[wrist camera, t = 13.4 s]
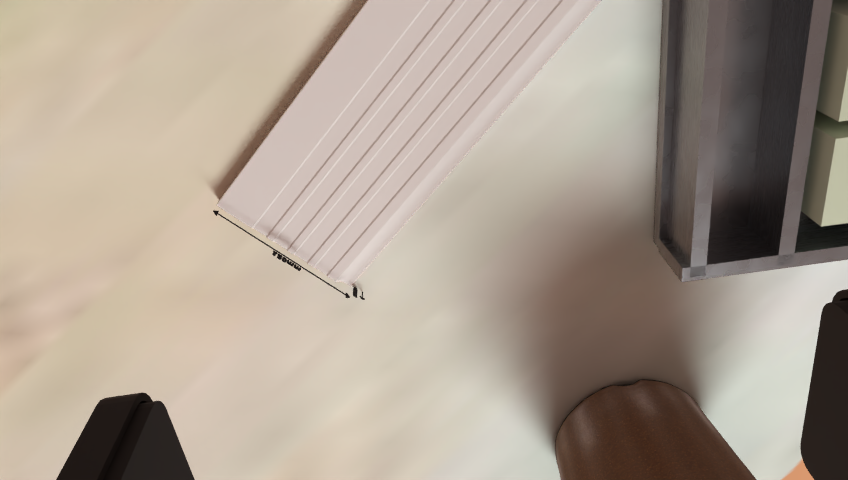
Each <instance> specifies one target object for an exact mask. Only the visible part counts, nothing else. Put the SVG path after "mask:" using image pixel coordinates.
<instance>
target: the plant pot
mask: <svg viewBox="0 0 848 480" xmlns="http://www.w3.org/2000/svg"><path fill="white" fill-rule="evenodd" d="M556 460H557V464H558V468H559V473H560V477H561V480H756V479H755V477H754V476H753V475H752V473H751V472H750V471H749V470H748V468H747V467H746V466H745V465H744V463H743V462H742V461H741V460H740V459H739V457H738V456H737V455H736V454H735V452H734V451H733V450H732V448H731V447H730V446H729V445H728V443H727V442H726V441H725V440H724V438H723V437H722V436H721V434H720V433H719V432H718V431H717V429H716V428H715V427H714V426H713V424H712V423H711V422H710V421H709V419H708V418H707V417H706V415H705V414H704V413H703V411H702V410H701V409H700V407H699V406H698V404H697V403H696V402H695V401H694V400H693V399H692V398H691V397H690V396H689V395H688V394H687V393H685V392H684V391H682V390H681V389H679V388H677V387H675V386H673V385H670V384H667V383H663V382H658V381H650V380H639V381H638V382H636V383H635V384H633V385H628V386H615V385H612V386H609V387H607V388H604V389H602V390H600V391H598V392H596V393H594V394H593V395H591V396H590V397H588V398H587V399H585V400H584V401H583V402H581V403H580V404H579V405H578V406H577V407H576V408H575V409H574V410H573V411H572V412H571V413H570V414H569V415H568V417H567V418H566V419H565V421H564V422H563V424H562V426H561V428H560V430H559V432H558V435H557V439H556Z"/></svg>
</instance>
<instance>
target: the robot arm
mask: <svg viewBox="0 0 848 480" xmlns="http://www.w3.org/2000/svg"><path fill="white" fill-rule="evenodd" d="M801 455H802V458H803V461H804V463H805V466H806V468H807V469H808V471H809V473H810V474H811V476H812V477H813V478H814V480H848V289H847V290H842V291H839V292H837V293H836V295H835V296H834V297H833V301H832V302H831V303H828V304H826V305H825V306H824V307H823V311H822V315H821V321H820V327H819V333H818V339H817V346H816V352H815V358H814V364H813V370H812V377H811V383H810V389H809V395H808V401H807V407H806V414H805V420H804V426H803V432H802V438H801ZM56 480H194V477H193V475H192V472H191V470H190V467H189V465H188V462H187V460H186V457H185V455H184V452H183V450H182V447H181V445H180V442H179V440H178V437H177V435H176V432H175V430H174V427H173V425H172V422H171V420H170V417H169V415H168V412H167V410H166V407H165V406H164V404H163V403H162V402H161V401H154V402H153V401H152V399H151V398H150V396H149V395H147V394H146V393H137V394H130V395H123V396H116V397H109V398H104V399H102V400H100V402H99V403H98V404H97V405H96V407H95V409H94V411H93V413H92V415H91V416H90V418H89V420H88V422H87V424H86V426H85V428H84V429H83V431H82V433H81V435H80V437H79V439H78V440H77V442H76V444H75V446H74V448H73V450H72V452H71V453H70V455H69V457H68V459H67V461H66V463H65V464H64V466H63V468H62V470H61V472H60V474H59V476H58V477H57V479H56Z"/></svg>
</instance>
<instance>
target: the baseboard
mask: <svg viewBox="0 0 848 480" xmlns="http://www.w3.org/2000/svg"><path fill="white" fill-rule="evenodd" d="M601 1H602V0H367V1H366V2H365V4H364V5H363V6H362V8H361V9H360V10H359V12H358V13H357V14H356V16H355V17H354V18H353V20H352V21H351V23H350V24H349V25H348V27H347V28H346V29H345V31H344V32H343V33H342V35H341V36H340V37H339V39H338V40H337V41H336V43H335V44H334V46H333V47H332V48H331V50H330V51H329V52H328V54H327V55H326V56H325V58H324V59H323V60H322V62H321V63H320V64H319V66H318V67H317V69H316V70H315V71H314V73H313V74H312V75H311V77H310V78H309V79H308V81H307V82H306V83H305V85H304V86H303V87H302V89H301V90H300V91H299V93H298V94H297V96H296V97H295V98H294V100H293V101H292V102H291V104H290V105H289V106H288V108H287V109H286V110H285V112H284V113H283V114H282V116H281V117H280V119H279V120H278V121H277V123H276V124H275V125H274V127H273V128H272V129H271V131H270V132H269V133H268V135H267V136H266V137H265V139H264V140H263V141H262V143H261V144H260V146H259V147H258V148H257V150H256V151H255V152H254V154H253V155H252V156H251V158H250V159H249V160H248V162H247V163H246V164H245V166H244V167H243V169H242V170H241V171H240V173H239V174H238V175H237V177H236V178H235V179H234V181H233V182H232V183H231V185H230V186H229V187H228V189H227V190H226V192H225V193H224V194H223V196H222V197H221V198H220V200H219V201H218V203H217V205H216V206H218V207H219V208H221V209H223V210H224V211H226V212H227V213H229V214H230V215H232V216H234V217H235V218H237V219H238V220H240V221H241V222H243V223H244V224H246V225H248V226H249V227H251V228H254V229H255V230H257V231H258V232H260V233H261V234H263V235H264V236H266V237H267V238H268V239H270V240H271V241H273V242H275V243H277V244H279V245H280V246H282V247H283V248H285V249H286V250H287V251H288V252H290V253H291V254H293V255H296V256H297V257H299V258H300V259H302V260H304V261H305V262H307V264H309V265H310V266H312V267H314V268H316V269H318V270H319V271H321V272H322V273H324V274H325V275H327V277H329V278H331V279H332V280H334V281H335V282H343V283H346V284H347V285H349V286H350V287H351V286H352V284H353V283H354V282H355V281H356V280H357V279H358V278H359V277H360V275H361V274H362V273H363V272H364V271H365V270H366V269H367V267H368V266H369V265H370V264H371V263H372V262H373V261H374V259H375V258H376V257H377V256H378V255H379V254H380V253H381V251H382V250H383V249H384V248H385V247H386V246H387V245H388V243H389V242H390V241H391V240H392V239H393V238H394V237H395V235H396V234H397V233H398V232H399V231H400V230H401V229H402V227H403V226H404V225H405V224H406V223H407V222H408V221H409V219H410V218H411V217H412V216H413V215H414V214H415V213H416V212H417V210H418V209H419V208H420V207H421V206H422V205H423V204H424V202H425V201H426V200H427V199H428V198H429V197H430V196H431V194H432V193H433V192H434V191H435V190H436V189H437V188H438V186H439V185H440V184H441V183H442V182H443V181H444V180H445V178H446V177H447V176H448V175H449V174H450V173H451V172H452V170H453V169H454V168H455V167H456V166H457V165H458V164H459V162H460V161H461V160H462V159H463V158H464V157H465V156H466V155H467V153H468V152H469V151H470V150H471V149H472V148H473V147H474V145H475V144H476V143H477V142H478V141H479V140H480V139H481V137H482V136H483V135H484V134H485V133H486V132H487V131H488V129H489V128H490V127H491V126H492V125H493V124H494V123H495V121H496V120H497V119H498V118H499V117H500V116H501V115H502V113H503V112H504V111H505V110H506V109H507V108H508V107H509V105H510V104H511V103H512V102H513V101H514V100H515V99H516V97H517V96H518V95H519V94H520V93H521V92H522V91H523V90H524V88H525V87H526V86H527V85H528V84H529V83H530V82H531V80H532V79H533V78H534V77H535V76H536V75H537V74H538V72H539V71H540V70H541V69H542V68H543V67H544V66H545V64H546V63H547V62H548V61H549V60H550V59H551V58H552V56H553V55H554V54H555V53H556V52H557V51H558V50H559V48H560V47H561V46H562V45H563V44H564V43H565V42H566V40H567V39H568V38H569V37H570V36H571V35H572V34H573V33H574V31H575V30H576V29H577V28H578V27H579V26H580V25H581V23H582V22H583V21H584V20H585V19H586V18H587V17H588V15H589V14H590V13H591V12H592V11H593V10H594V9H595V7H596V6H597V5H598V4H599V3H600V2H601ZM213 212H214V213H215V215H216V216H217V214H218V212H219V211H213ZM218 215H220V214H218ZM220 216H221V217H223V216H222V215H220ZM223 218H225V217H223ZM225 219H226V218H225ZM226 220H228V219H226ZM228 221H229V222H231V221H230V220H228ZM231 223H232V224H234V223H233V222H231ZM234 225H236V224H234ZM236 226H237V225H236ZM237 227H239V226H237ZM239 228H240V229H242V228H241V227H239ZM242 230H243V231H245V230H244V229H242ZM245 232H247V231H245ZM247 233H248V232H247ZM248 234H250V233H248ZM250 235H251V236H253V235H252V234H250ZM253 237H254V238H256V237H255V236H253ZM256 239H258V238H256ZM258 240H259V239H258ZM259 241H261V240H259ZM261 242H262V243H264V242H263V241H261ZM264 244H265V245H267V244H266V243H264ZM267 246H269V245H267ZM269 247H270V246H269ZM270 248H272V247H270ZM272 249H273V250H275V249H274V248H272ZM275 251H276V252H275ZM275 251H273V256H275V255H276V254H277V252H278V251H277V250H275ZM278 253H280V252H278ZM280 254H281V253H280ZM280 254H278V256H279V257H278V256H277V258H278V259H280V260H281V258H282V255H283V254H281V255H280ZM283 256H284V257H283V258H282V261H283V262H286V261H287V264H289V265H291V266H293V265H294V263H295V265H294V268H295V269H297V270H298V271H300V270H301V268H298V267H299V266H300V265H299V264H297V263H296V262H294V261H292V260H291V259H289V258H288V257H286V256H285V255H283ZM285 257H286V258H288V259H289V260H291V261H292V262H294V263H292V262H291V261H290V263H289V260H287V259H286V258H285ZM291 263H292V264H291ZM296 264H297V265H299V266H297V267H296ZM300 267H302V266H300ZM302 268H303V267H302ZM303 269H305V268H303ZM305 270H306V271H308V270H307V269H305ZM308 272H310V271H308ZM310 273H311V272H310ZM311 274H313V273H311ZM313 275H314V274H313ZM314 276H316V275H314ZM316 277H317V278H319V277H318V276H316ZM319 279H321V278H319ZM321 280H322V279H321ZM322 281H324V280H322ZM324 282H325V281H324ZM325 283H327V282H325ZM327 284H328V285H330V284H329V283H327ZM330 286H332V285H330ZM332 287H333V286H332ZM353 287H354V286H353ZM333 288H335V287H333ZM335 289H336V288H335ZM336 290H338V289H336ZM338 291H339V292H341V291H340V290H338ZM341 293H343V292H341ZM354 293H355V294H354ZM343 294H344V293H343ZM344 295H346V298H350V297H349V295H348V294H347V293H346V294H344ZM353 296H354V297H356V298H357V288H355V287H354V289H353ZM360 297H361V296H360ZM361 299H362V300H365V299H364V298H363V292H362V297H361Z"/></svg>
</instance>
